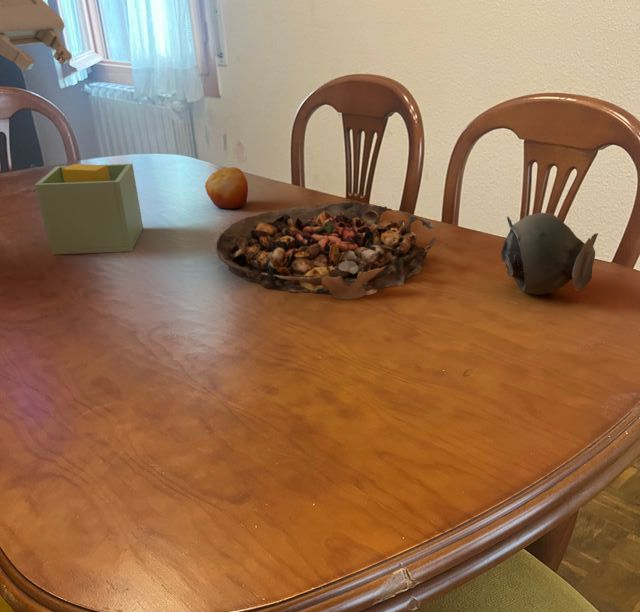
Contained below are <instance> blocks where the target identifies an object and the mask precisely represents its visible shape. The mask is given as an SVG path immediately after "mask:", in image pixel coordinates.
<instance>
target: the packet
mask: <svg viewBox="0 0 640 612" xmlns="http://www.w3.org/2000/svg"><path fill="white" fill-rule="evenodd" d="M107 165H108V164H85V163H83V164H82V163H73V164H70V165H67V166H68V167H66V168H63V169H62V172H63V177H64V181H65V183H69V182H95V181H110V177H109V171H108V166H107Z"/></svg>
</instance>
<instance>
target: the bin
mask: <svg viewBox="0 0 640 612" xmlns="http://www.w3.org/2000/svg"><path fill="white" fill-rule="evenodd" d="M106 165H107V166H108V171H109V177H110V181H95V182H69V183H65V181H64V177H63V172H62V169H63V168H66V167H68V166H69V165H62V166H61V165H59V166H55V167H54V168H53V169H51V170H50V171H49V172H48V173H47V174H45V176H43V177H42V178H41V179H40V180H39V181H37V182H36V183H35V184H34V188H35V192H36V196H37V201H38V204H39V207H40V212H41V217H42V220H43V224H44V227H45V231H46V236H47V241H48V245H49V249H50V252H51V255H52V256H54V255H55V256H56V255H75V254H76V255H78V254H100V253H101V254H103V253H122V252H123V253H125V252H132V251H133V249H134V248H135V245H136V243H137V241H138V239H139V238H140V235H141V233H142V231H143V230H144V224H143V218H142V212H141V208H140V207H141V206H140V200H139V194H138V190H137V189H138V188H137V183H136V178H135V177H136V175H135V171H134V165H133V163H116V164H115V163H113V164H106Z"/></svg>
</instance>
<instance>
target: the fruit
mask: <svg viewBox="0 0 640 612" xmlns="http://www.w3.org/2000/svg"><path fill="white" fill-rule="evenodd" d="M204 188H205V190H206V194H207V195H208V198H209V199H210V201H211V202H212V204H213V205H214V207H216V208H219V209H240V208H242V207H244V206H245V205H246V204H247V200H248V193H249V185H248V180H247V178H246V175H245V174H244V172H243V170H241V169H240V168H238V167H236V166H231V167H222V168H218V169H217V170H216V171H214V172H212V173H211V175H209V177H207V180H206V182H205V185H204Z"/></svg>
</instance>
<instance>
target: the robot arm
mask: <svg viewBox="0 0 640 612" xmlns="http://www.w3.org/2000/svg"><path fill="white" fill-rule="evenodd" d="M65 27H66V26H65V22H64V20H63V18H62V17H61V16H60V15H59V14H58V13H57V12H56V11H55V10H54V9H53V8H52V7H51V6H50V5H49V4H48V3H47V2H46V1H44V0H0V56H2V57H3V58H5V59H7V60H9V61H10V62H12V63H14V64H15V65H16V66H17V67H18V68H19V69H20V70H21V71H23V72H25V71H28V70H32V68H33V66H35V59H34V58H33V57H32V56H30V54H29V52H27V51H26V50H22V49H20V48H18V47H25V46H33V45H42V44H43V45H45V46H46V47H47V48H50V49H51V50H52V52H53V53H54V54H53V58H54V59H55V60H56V61H57V62H58V63H59V64H60V65H67V64H69V63H70V62H71V60H72V57H73V55H72V53H71V52H70V51H69V50H68V49H67V48H66V47H65V45H64V43H63V40H62V38H61V35H62V33H63V31H64V29H65Z"/></svg>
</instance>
